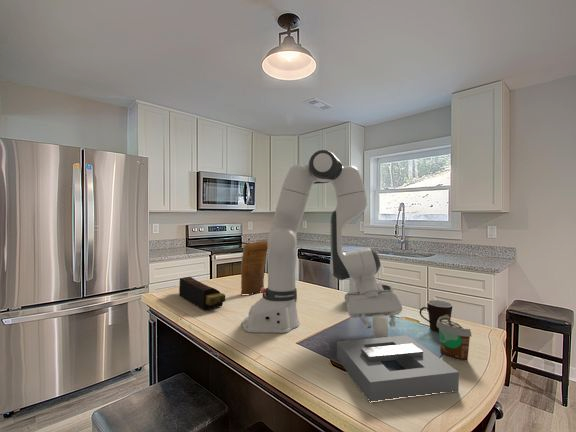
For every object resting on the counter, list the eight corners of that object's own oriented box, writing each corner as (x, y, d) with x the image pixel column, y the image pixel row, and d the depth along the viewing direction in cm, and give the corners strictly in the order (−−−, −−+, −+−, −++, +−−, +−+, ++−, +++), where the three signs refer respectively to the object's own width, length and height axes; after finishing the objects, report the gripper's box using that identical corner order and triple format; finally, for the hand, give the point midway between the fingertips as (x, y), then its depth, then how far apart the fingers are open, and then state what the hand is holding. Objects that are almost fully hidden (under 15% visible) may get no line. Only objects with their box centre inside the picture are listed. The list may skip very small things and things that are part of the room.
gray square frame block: (370, 403, 70) (370, 382, 70) (336, 357, 92) (336, 341, 92) (458, 391, 75) (458, 371, 75) (407, 350, 96) (407, 335, 96)
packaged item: (227, 309, 135) (227, 288, 135) (207, 314, 129) (207, 291, 129) (193, 291, 165) (193, 273, 165) (175, 294, 159) (175, 275, 159)
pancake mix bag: (271, 290, 166) (271, 240, 165) (244, 298, 152) (244, 243, 152) (263, 288, 171) (263, 239, 170) (236, 295, 157) (236, 242, 156)
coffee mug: (449, 326, 116) (450, 301, 116) (454, 335, 108) (454, 308, 108) (417, 322, 120) (417, 298, 120) (419, 331, 112) (419, 304, 112)
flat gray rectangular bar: (369, 362, 79) (369, 356, 79) (361, 353, 84) (361, 348, 84) (423, 356, 82) (423, 351, 82) (412, 348, 87) (412, 343, 87)
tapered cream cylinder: (377, 342, 102) (377, 319, 102) (370, 336, 107) (370, 314, 107) (390, 341, 103) (390, 318, 103) (383, 335, 108) (383, 313, 108)
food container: (428, 344, 101) (428, 315, 100) (445, 344, 101) (446, 315, 101) (451, 363, 88) (452, 330, 88) (470, 363, 89) (471, 329, 89)
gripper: (345, 288, 110) (356, 325, 100) (395, 286, 114) (410, 321, 104) (340, 297, 114) (350, 332, 105) (389, 294, 118) (403, 328, 109)
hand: (381, 326), depth 105 cm, fingers open, 8 cm apart
